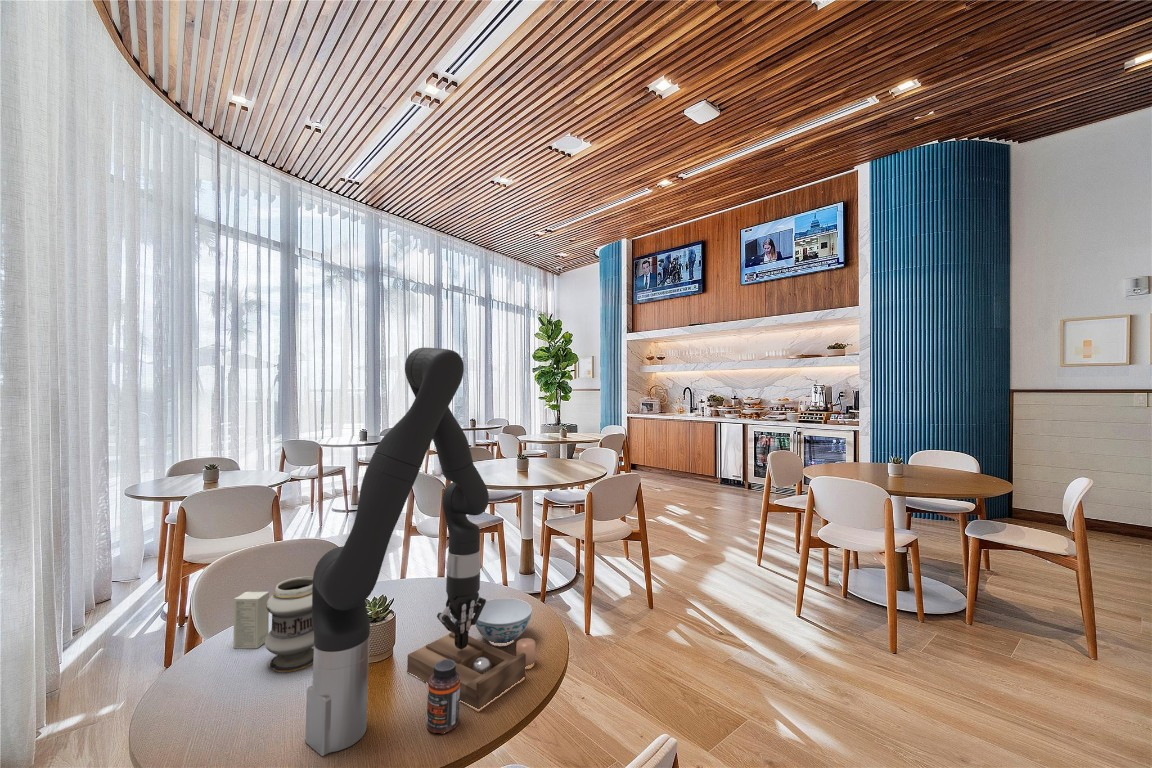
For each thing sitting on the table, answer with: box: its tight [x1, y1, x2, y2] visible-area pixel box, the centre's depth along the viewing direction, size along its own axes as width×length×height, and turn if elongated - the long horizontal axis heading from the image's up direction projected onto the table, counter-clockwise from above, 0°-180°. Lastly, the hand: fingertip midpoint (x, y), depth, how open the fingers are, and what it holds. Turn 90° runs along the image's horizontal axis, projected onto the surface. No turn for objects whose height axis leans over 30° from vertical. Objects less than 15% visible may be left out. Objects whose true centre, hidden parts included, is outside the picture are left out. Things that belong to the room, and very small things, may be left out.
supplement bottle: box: [426, 659, 460, 734], centre depth 90 cm, size 6×6×11 cm
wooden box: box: [406, 632, 526, 709], centre depth 106 cm, size 14×23×6 cm, turn 55°
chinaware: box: [473, 597, 533, 643], centre depth 122 cm, size 15×15×8 cm
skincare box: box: [233, 591, 270, 650], centre depth 118 cm, size 6×4×12 cm
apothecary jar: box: [264, 576, 314, 673], centre depth 111 cm, size 12×12×18 cm
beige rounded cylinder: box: [515, 637, 536, 666], centre depth 111 cm, size 4×4×5 cm
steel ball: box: [472, 657, 492, 674], centre depth 106 cm, size 4×4×4 cm
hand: (461, 647), depth 109 cm, fingers closed
